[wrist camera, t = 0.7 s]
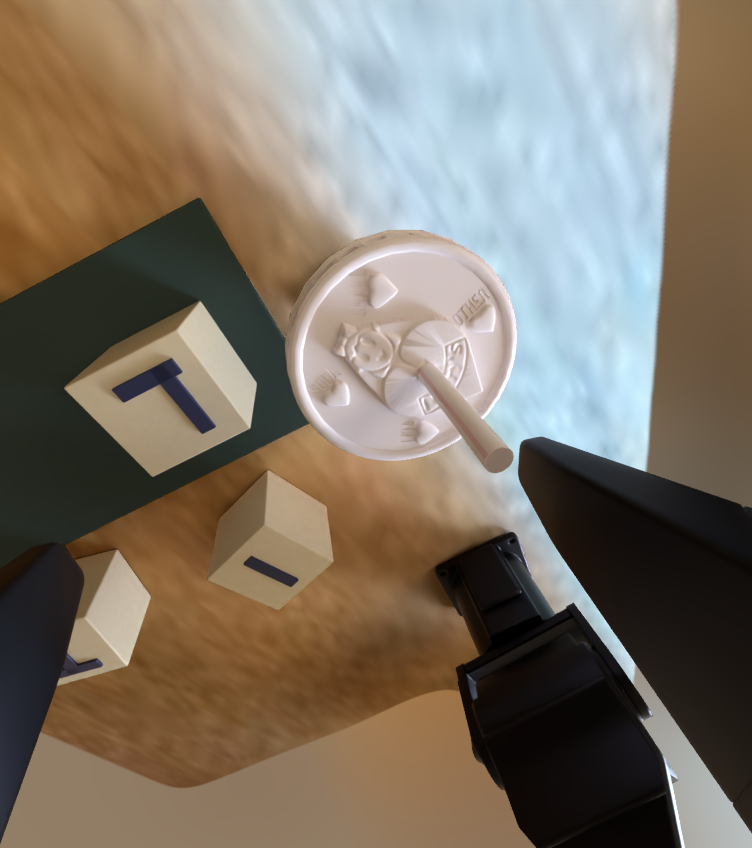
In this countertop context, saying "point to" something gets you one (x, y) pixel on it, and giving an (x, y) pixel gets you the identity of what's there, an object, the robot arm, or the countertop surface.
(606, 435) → the countertop surface
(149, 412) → the tile
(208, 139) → the countertop surface
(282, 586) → the tile
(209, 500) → the countertop surface
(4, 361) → the word mat
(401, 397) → the smoothie
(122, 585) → the tile
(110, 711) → the countertop surface
